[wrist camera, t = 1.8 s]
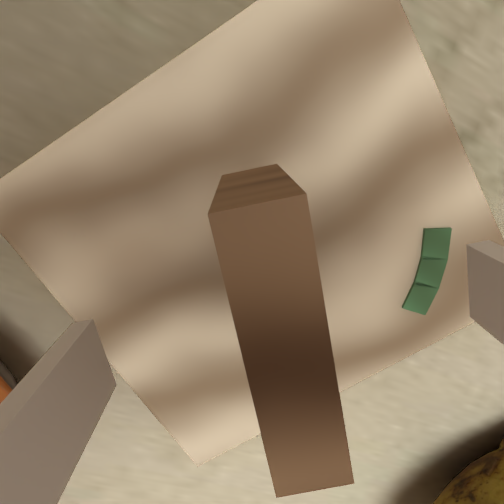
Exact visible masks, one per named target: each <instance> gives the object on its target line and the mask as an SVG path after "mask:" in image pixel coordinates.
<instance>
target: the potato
mask: <svg viewBox="0 0 504 504" xmlns="http://www.w3.org/2000/svg"><path fill="white" fill-rule="evenodd" d="M433 504H504V438H503V440H502V442H501V444H500V447H499V449H497V450H495V451H492V452H490V453H488V454H486V455H484V456H482V457H480V458H479V459H477V460H475V461H474V462H472V463H470V464H468V466H467V467H466V468H465V469H463V470H462V471H461V472H460V473H459V474H458V475H457V476H456V477H455V478H453V480H452V481H451V482H450V483H449V484H448V485H447V486H446V487H445V489H444V490H443V491H442V493H441V494H440V495H439V496H438V498H437V499H436V500H435V502H434V503H433Z"/></svg>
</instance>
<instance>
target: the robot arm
mask: <svg viewBox="0 0 504 504" xmlns="http://www.w3.org/2000/svg"><path fill="white" fill-rule="evenodd" d="M466 249H467V269H468V289H469V310H470V317H471V318H472V319H473V320H474V321H476V322H477V323H478V324H479V325H480V326H482V327H483V328H484V329H485V330H486V331H488V332H489V333H490V334H491V335H493V336H494V337H495V338H496V339H497V340H499V341H500V342H501V343H502V344H504V246H501V245H499V244H497V243H495V242H492V241H490V240H486V241H481V242H476V243H471V244H466ZM115 387H116V382H115V379H114V376H113V373H112V371H111V368H110V365H109V362H108V359H107V357H106V354H105V351H104V348H103V345H102V343H101V340H100V337H99V334H98V331H97V328H96V326H95V323H94V320H93V319H90V320H85V321H80V322H75V323H72V324H71V325H70V326H69V327H68V328H67V329H66V330H65V332H64V333H63V334H62V335H61V336H60V337H59V338H58V339H57V341H56V342H55V343H54V344H53V345H52V346H51V347H50V348H49V350H48V351H47V352H46V353H45V354H44V355H43V356H42V357H41V359H40V360H39V361H38V362H37V363H36V364H35V365H34V366H33V368H32V369H31V370H30V371H29V372H28V373H27V374H26V375H25V377H24V378H23V379H22V380H21V381H20V382H19V383H18V384H17V386H16V387H15V388H14V389H13V390H12V391H11V392H10V393H9V395H8V396H7V397H6V398H5V399H4V400H3V401H2V402H1V404H0V504H57V503H58V501H59V499H60V497H61V495H62V493H63V491H64V489H65V487H66V485H67V483H68V481H69V479H70V477H71V475H72V473H73V471H74V469H75V467H76V465H77V463H78V461H79V459H80V457H81V455H82V453H83V451H84V449H85V447H86V445H87V443H88V441H89V439H90V437H91V435H92V433H93V431H94V429H95V427H96V425H97V423H98V421H99V419H100V417H101V415H102V413H103V411H104V409H105V407H106V405H107V403H108V401H109V399H110V397H111V395H112V393H113V391H114V389H115Z"/></svg>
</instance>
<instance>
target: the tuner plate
mask: <svg viewBox="0 0 504 504" xmlns="http://www.w3.org/2000/svg"><path fill="white" fill-rule="evenodd" d="M273 164H278V165H279V166H280V167H281V168H282V169H283V170H284V171H285V172H286V173H287V174H288V175H289V176H290V177H291V178H292V179H293V180H294V181H295V182H296V183H297V184H298V185H299V186H300V187H301V188H302V189H303V190H304V191H305V192H306V193H307V199H308V205H309V211H310V217H311V223H312V229H313V235H314V241H315V247H316V254H317V260H318V266H319V272H320V278H321V284H322V290H323V296H324V302H325V308H326V315H327V321H328V327H329V333H330V339H331V345H332V351H333V357H334V363H335V370H336V376H337V382H338V388H339V393H340V392H342V391H344V390H345V389H347V388H349V387H351V386H353V385H355V384H357V383H359V382H361V381H363V380H365V379H366V378H368V377H370V376H372V375H374V374H376V373H378V372H380V371H382V370H384V369H386V368H387V367H389V366H391V365H393V364H395V363H397V362H399V361H401V360H403V359H405V358H407V357H409V356H410V355H412V354H414V353H416V352H418V351H420V350H422V349H424V348H426V347H428V346H430V345H431V344H433V343H435V342H437V341H439V340H441V339H443V338H445V337H447V336H449V335H451V334H453V333H454V332H456V331H458V330H460V329H462V328H464V327H466V326H468V325H470V324H472V323H474V322H475V321H474V320H473V319H472V318H471V317H470V310H469V289H468V269H467V249H466V244H471V243H476V242H481V241H486V240H490V241H492V242H495V243H497V244H499V245H501V246H504V240H503V238H502V235H501V233H500V231H499V228H498V226H497V224H496V222H495V219H494V217H493V215H492V212H491V210H490V208H489V205H488V203H487V201H486V198H485V196H484V194H483V192H482V189H481V187H480V185H479V182H478V180H477V178H476V175H475V173H474V171H473V169H472V166H471V164H470V162H469V159H468V157H467V155H466V152H465V150H464V148H463V145H462V143H461V141H460V139H459V136H458V134H457V132H456V129H455V127H454V125H453V122H452V120H451V118H450V116H449V113H448V111H447V109H446V106H445V104H444V102H443V99H442V97H441V95H440V92H439V90H438V88H437V86H436V83H435V81H434V79H433V76H432V74H431V72H430V69H429V67H428V65H427V63H426V60H425V58H424V56H423V53H422V51H421V49H420V46H419V44H418V42H417V39H416V37H415V35H414V33H413V30H412V28H411V26H410V23H409V21H408V19H407V16H406V14H405V12H404V10H403V7H402V5H401V3H400V0H257V1H256V2H254V3H253V4H252V5H250V6H249V7H247V8H246V9H244V10H243V11H241V12H240V13H239V14H237V15H236V16H234V17H233V18H231V19H230V20H228V21H227V22H226V23H224V24H223V25H221V26H220V27H218V28H217V29H215V30H214V31H213V32H211V33H210V34H208V35H207V36H205V37H204V38H202V39H201V40H200V41H198V42H197V43H195V44H194V45H192V46H191V47H189V48H188V49H187V50H185V51H184V52H182V53H181V54H179V55H178V56H177V57H175V58H174V59H172V60H171V61H169V62H168V63H166V64H165V65H164V66H162V67H161V68H159V69H158V70H156V71H155V72H153V73H152V74H151V75H149V76H148V77H146V78H145V79H143V80H142V81H140V82H139V83H138V84H136V85H135V86H133V87H132V88H130V89H129V90H127V91H126V92H125V93H123V94H122V95H120V96H119V97H117V98H116V99H114V100H113V101H112V102H110V103H109V104H107V105H106V106H104V107H103V108H101V109H100V110H99V111H97V112H96V113H94V114H93V115H91V116H90V117H88V118H87V119H86V120H84V121H83V122H81V123H80V124H78V125H77V126H75V127H74V128H73V129H71V130H70V131H68V132H67V133H65V134H64V135H62V136H61V137H60V138H58V139H57V140H55V141H54V142H52V143H51V144H49V145H48V146H47V147H45V148H44V149H42V150H41V151H39V152H38V153H36V154H35V155H34V156H32V157H31V158H29V159H28V160H26V161H25V162H23V163H22V164H21V165H19V166H18V167H16V168H15V169H13V170H12V171H10V172H9V173H8V174H6V175H5V176H3V177H2V178H0V233H1V234H2V236H3V237H4V238H5V239H6V240H7V241H8V243H9V244H10V245H11V246H12V247H13V249H14V250H15V251H16V252H17V253H18V254H19V256H20V257H21V258H22V259H23V260H24V262H25V263H26V264H27V265H28V266H29V268H30V269H31V270H32V271H33V272H34V273H35V275H36V276H37V277H38V278H39V279H40V281H41V282H42V283H43V284H44V285H45V286H46V288H47V289H48V290H49V291H50V292H51V294H52V295H53V296H54V297H55V298H56V300H57V301H58V302H59V303H60V304H61V305H62V307H63V308H64V309H65V310H66V311H67V313H68V314H69V315H70V316H71V317H72V318H73V320H74V321H75V322H80V321H85V320H90V319H93V320H94V323H95V326H96V328H97V331H98V334H99V337H100V340H101V343H102V345H103V348H104V351H105V354H106V357H107V359H108V361H109V362H110V363H111V365H112V366H113V367H114V368H115V369H116V371H117V372H118V373H119V374H120V375H121V377H122V378H123V379H124V380H125V381H126V382H127V384H128V385H129V386H130V387H131V388H132V390H133V391H134V392H135V393H136V394H137V395H138V397H139V398H140V399H141V400H142V401H143V403H144V404H145V405H146V406H147V407H148V409H149V410H150V411H151V412H152V413H153V414H154V416H155V417H156V418H157V419H158V420H159V422H160V423H161V424H162V425H163V426H164V427H165V429H166V430H167V431H168V432H169V433H170V435H171V436H172V437H173V438H174V439H175V441H176V442H177V443H178V444H179V445H180V446H181V448H182V449H183V450H184V451H185V452H186V454H187V455H188V456H189V457H190V458H191V459H192V461H193V462H194V463H195V464H196V465H197V467H198V466H200V465H202V464H204V463H206V462H208V461H210V460H212V459H213V458H215V457H217V456H219V455H221V454H223V453H225V452H227V451H229V450H231V449H233V448H234V447H236V446H238V445H240V444H242V443H244V442H246V441H248V440H250V439H252V438H254V437H256V436H257V435H259V434H261V432H260V428H259V424H258V420H257V416H256V411H255V407H254V403H253V399H252V395H251V391H250V387H249V383H248V379H247V375H246V370H245V366H244V362H243V358H242V354H241V350H240V346H239V342H238V338H237V333H236V329H235V325H234V321H233V317H232V313H231V309H230V305H229V301H228V296H227V292H226V288H225V284H224V280H223V276H222V272H221V268H220V264H219V259H218V255H217V251H216V247H215V243H214V239H213V235H212V231H211V227H210V223H209V218H208V211H209V209H210V206H211V203H212V201H213V198H214V195H215V192H216V190H217V187H218V184H219V182H220V179H221V176H222V175H225V174H230V173H235V172H239V171H244V170H249V169H254V168H258V167H263V166H268V165H273Z"/></svg>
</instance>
